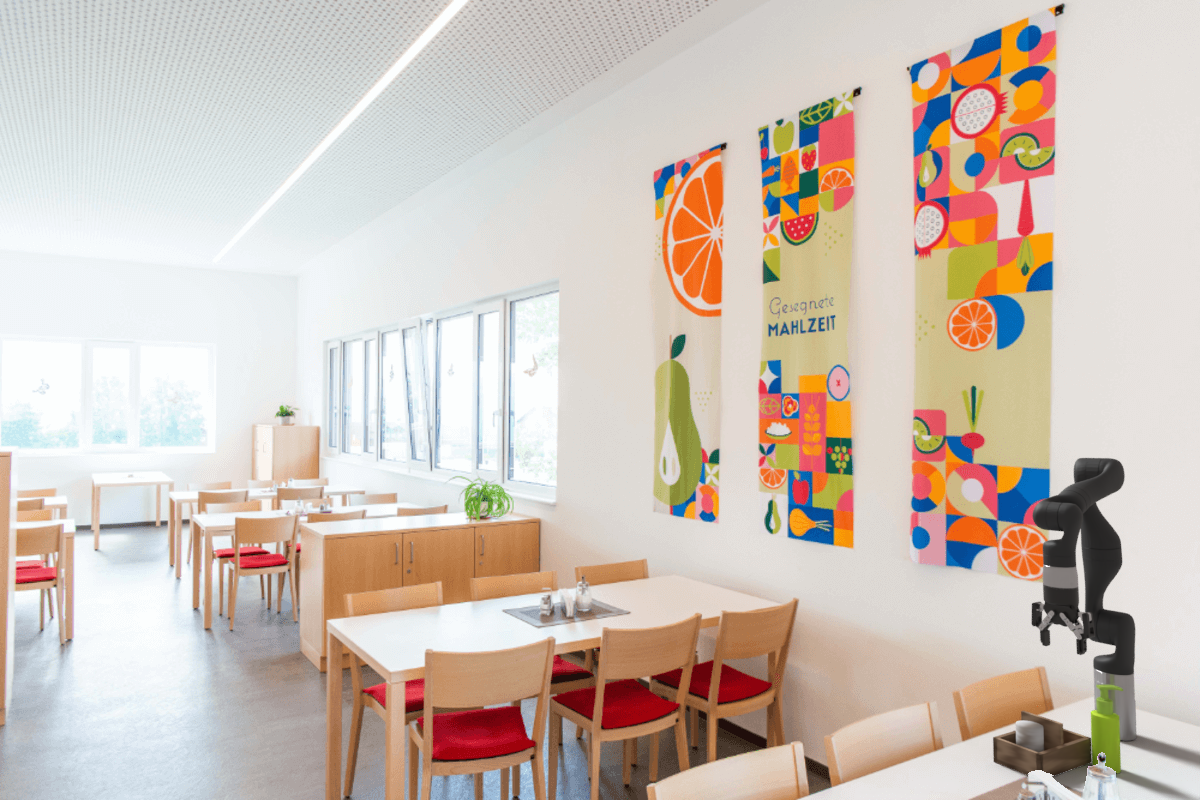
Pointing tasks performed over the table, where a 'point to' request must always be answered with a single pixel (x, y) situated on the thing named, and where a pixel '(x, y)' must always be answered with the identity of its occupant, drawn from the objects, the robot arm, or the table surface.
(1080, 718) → the table surface
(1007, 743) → the caddy
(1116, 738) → the soap dispenser
